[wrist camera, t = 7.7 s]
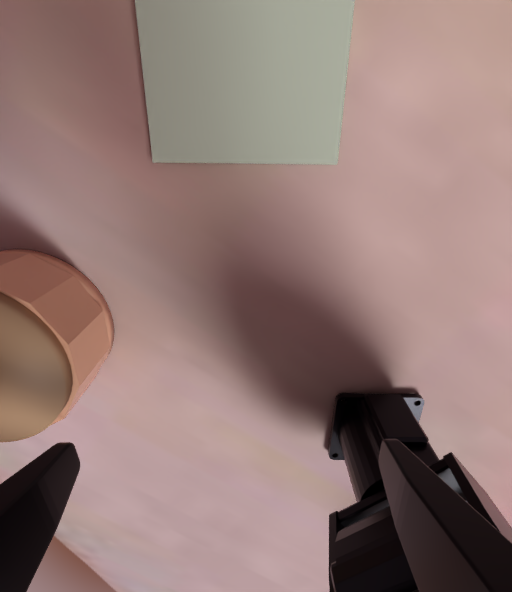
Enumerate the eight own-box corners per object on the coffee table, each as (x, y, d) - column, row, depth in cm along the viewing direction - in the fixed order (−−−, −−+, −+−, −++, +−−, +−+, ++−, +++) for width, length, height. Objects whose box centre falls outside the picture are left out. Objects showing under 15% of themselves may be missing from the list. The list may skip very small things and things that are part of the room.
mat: (335, 164, 17) (337, 164, 17) (154, 162, 17) (152, 162, 17) (361, -90, 13) (364, -97, 13) (127, -93, 13) (123, -100, 13)
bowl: (124, 381, 23) (92, 435, 19) (-11, 380, 23) (-76, 434, 19) (99, 249, 19) (50, 277, 15) (-64, 248, 19) (-164, 275, 15)
